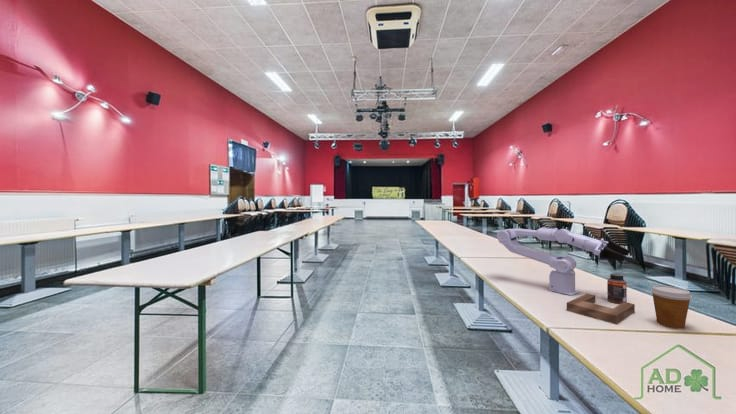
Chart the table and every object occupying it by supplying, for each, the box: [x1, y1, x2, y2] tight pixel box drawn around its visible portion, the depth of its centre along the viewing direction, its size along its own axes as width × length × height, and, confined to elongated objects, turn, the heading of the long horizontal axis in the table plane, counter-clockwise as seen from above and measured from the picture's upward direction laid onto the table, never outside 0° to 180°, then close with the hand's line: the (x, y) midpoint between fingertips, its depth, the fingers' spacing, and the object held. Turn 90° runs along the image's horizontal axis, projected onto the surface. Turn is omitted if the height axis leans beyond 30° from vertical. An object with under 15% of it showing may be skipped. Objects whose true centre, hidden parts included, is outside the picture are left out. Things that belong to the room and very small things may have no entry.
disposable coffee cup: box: [650, 284, 693, 330], centre depth 94 cm, size 10×10×12 cm
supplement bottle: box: [606, 272, 628, 305], centre depth 115 cm, size 6×6×11 cm
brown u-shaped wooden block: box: [566, 293, 636, 325], centre depth 106 cm, size 15×18×3 cm
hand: (626, 255), depth 112 cm, fingers open, 7 cm apart
